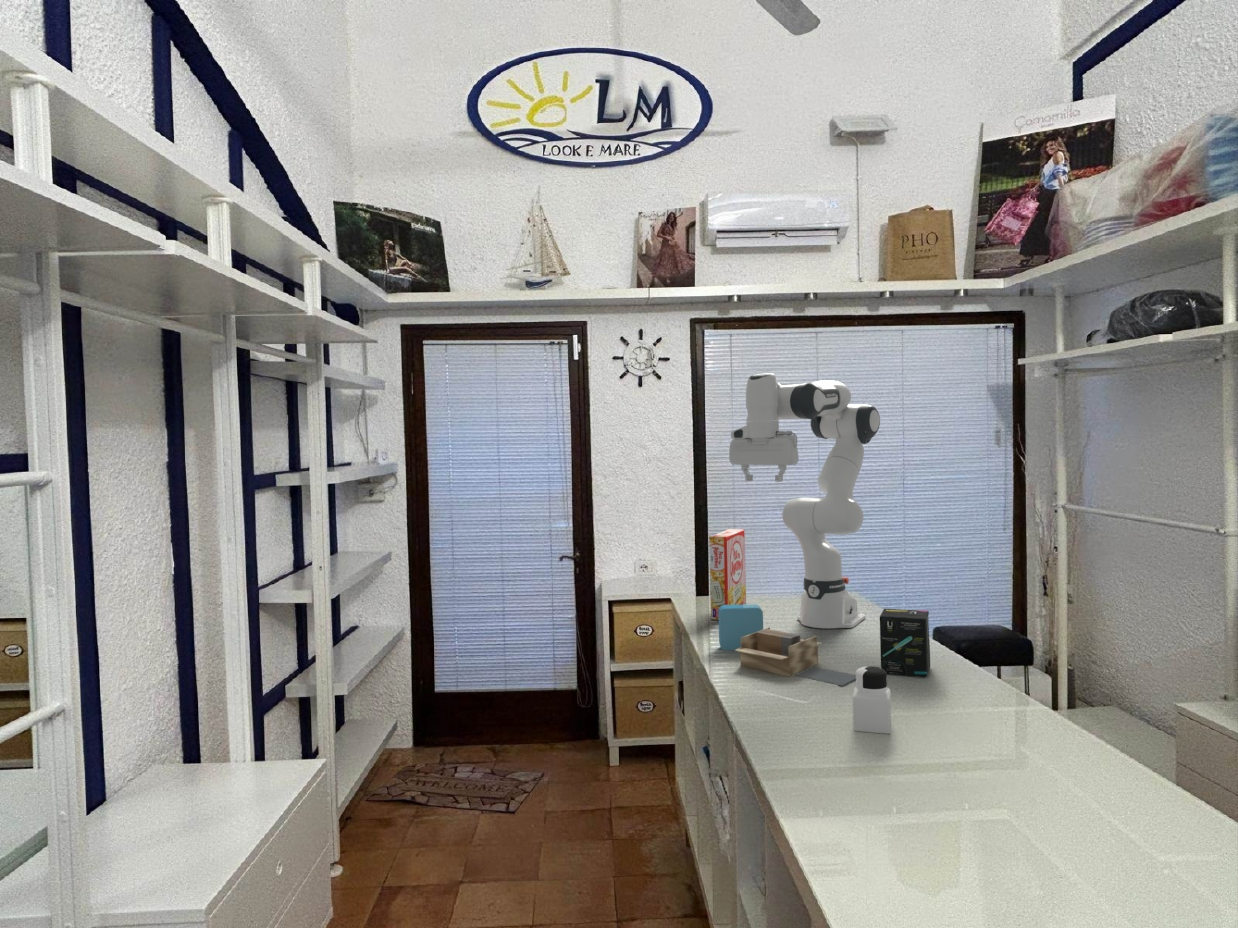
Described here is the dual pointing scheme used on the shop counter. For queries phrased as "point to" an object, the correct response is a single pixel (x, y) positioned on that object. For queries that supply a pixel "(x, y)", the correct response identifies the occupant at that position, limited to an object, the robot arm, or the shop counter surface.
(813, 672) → the mat
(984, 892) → the shop counter surface
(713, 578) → the popcorn box
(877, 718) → the medicine bottle
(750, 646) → the carton
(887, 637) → the tampon box
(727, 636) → the blue rounded block
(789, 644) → the walnut box
